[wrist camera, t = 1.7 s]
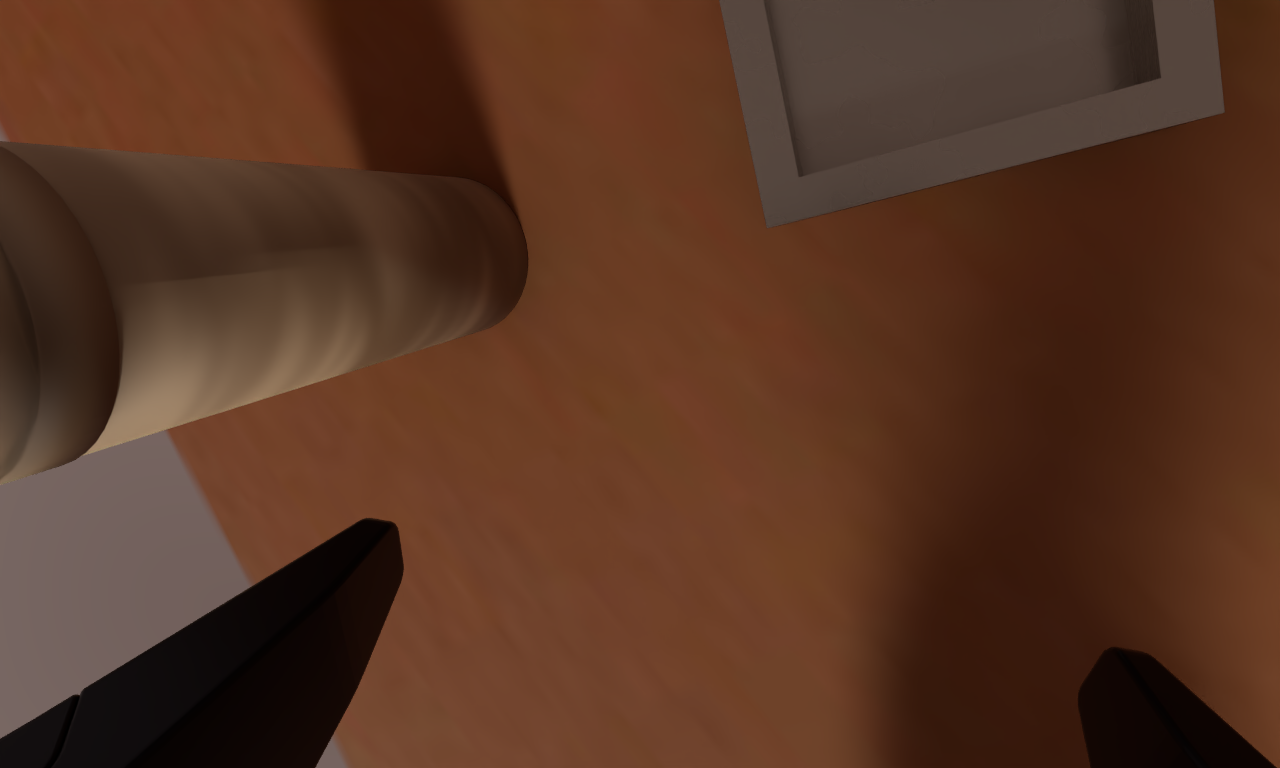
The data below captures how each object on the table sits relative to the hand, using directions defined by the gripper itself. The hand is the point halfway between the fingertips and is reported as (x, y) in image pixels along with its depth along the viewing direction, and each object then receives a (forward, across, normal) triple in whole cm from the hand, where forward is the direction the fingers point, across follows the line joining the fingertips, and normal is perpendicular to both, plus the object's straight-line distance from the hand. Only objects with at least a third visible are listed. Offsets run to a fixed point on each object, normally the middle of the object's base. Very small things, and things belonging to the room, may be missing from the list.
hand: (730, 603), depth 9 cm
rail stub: (+14, +9, +2) cm, 17 cm away
